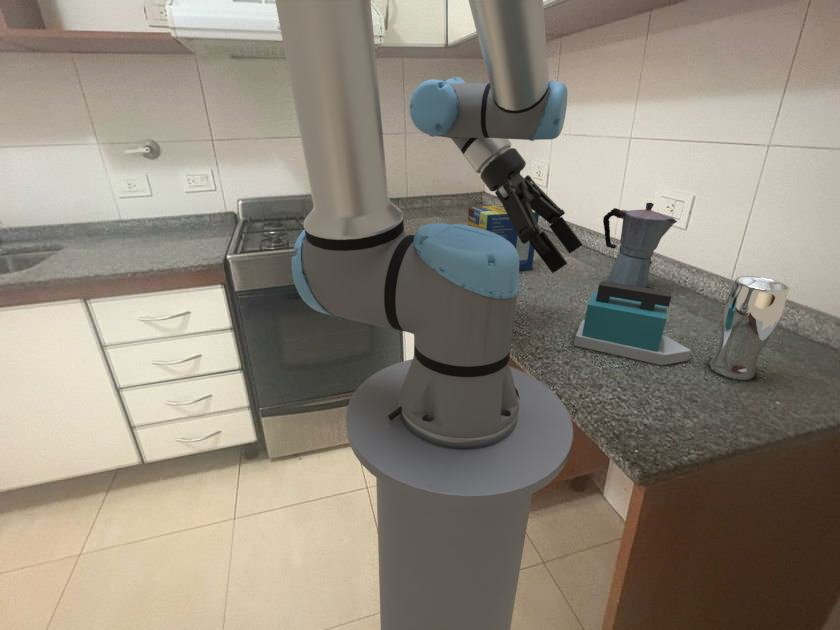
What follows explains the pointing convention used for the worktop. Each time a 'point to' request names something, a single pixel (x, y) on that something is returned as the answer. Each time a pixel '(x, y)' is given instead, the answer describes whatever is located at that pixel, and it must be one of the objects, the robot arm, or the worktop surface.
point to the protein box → (502, 230)
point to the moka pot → (636, 243)
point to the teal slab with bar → (630, 324)
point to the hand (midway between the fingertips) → (568, 258)
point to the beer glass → (748, 325)
